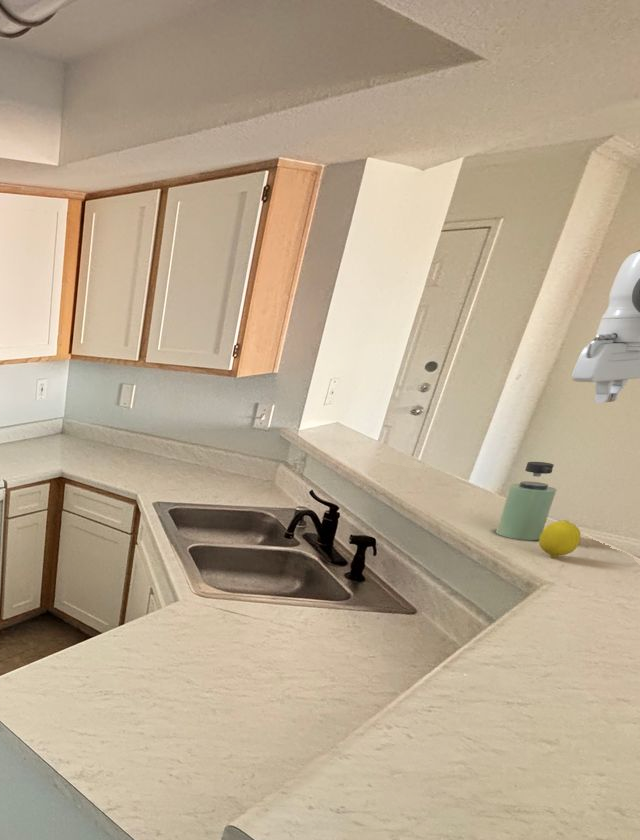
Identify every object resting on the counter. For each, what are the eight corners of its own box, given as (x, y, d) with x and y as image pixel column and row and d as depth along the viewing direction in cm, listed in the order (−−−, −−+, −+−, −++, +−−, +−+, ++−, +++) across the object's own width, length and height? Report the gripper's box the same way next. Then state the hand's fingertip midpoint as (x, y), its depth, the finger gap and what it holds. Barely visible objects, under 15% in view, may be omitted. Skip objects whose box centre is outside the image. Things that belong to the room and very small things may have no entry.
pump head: (545, 474, 129) (549, 462, 128) (559, 481, 123) (563, 468, 122) (520, 473, 130) (524, 461, 129) (533, 480, 125) (537, 467, 124)
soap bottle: (532, 532, 134) (549, 481, 130) (546, 542, 128) (564, 488, 124) (490, 528, 137) (506, 478, 133) (502, 538, 131) (518, 486, 127)
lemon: (579, 563, 116) (593, 525, 114) (544, 561, 118) (557, 523, 115) (561, 553, 121) (574, 517, 119) (527, 551, 123) (539, 515, 120)
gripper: (615, 334, 114) (591, 406, 118) (682, 331, 119) (656, 400, 123) (573, 334, 119) (551, 403, 124) (639, 331, 125) (615, 397, 129)
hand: (604, 402), depth 124 cm, fingers closed
